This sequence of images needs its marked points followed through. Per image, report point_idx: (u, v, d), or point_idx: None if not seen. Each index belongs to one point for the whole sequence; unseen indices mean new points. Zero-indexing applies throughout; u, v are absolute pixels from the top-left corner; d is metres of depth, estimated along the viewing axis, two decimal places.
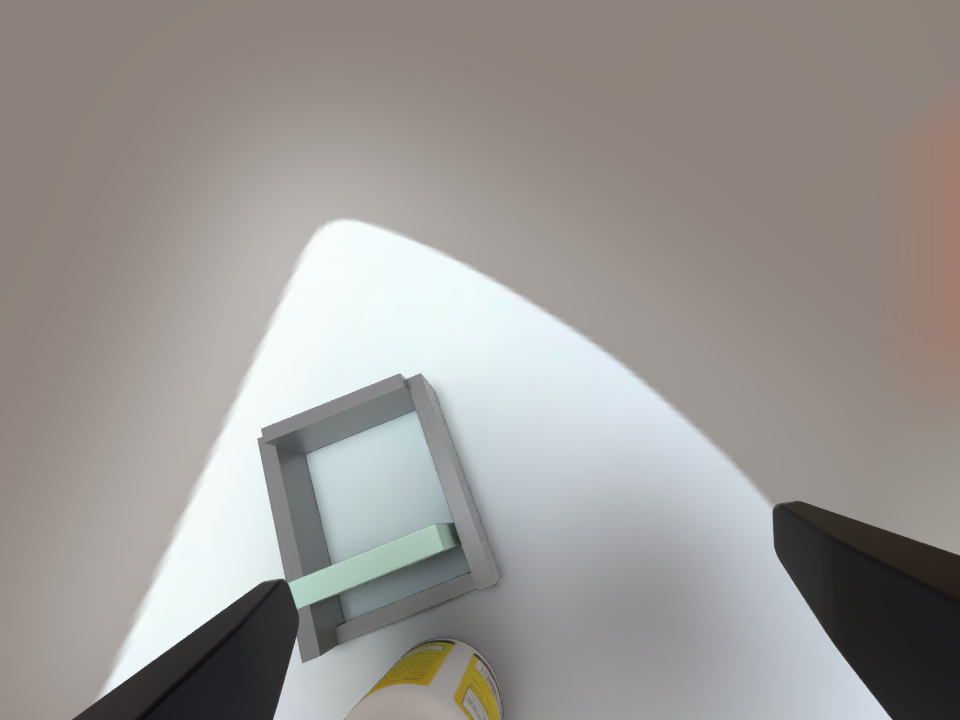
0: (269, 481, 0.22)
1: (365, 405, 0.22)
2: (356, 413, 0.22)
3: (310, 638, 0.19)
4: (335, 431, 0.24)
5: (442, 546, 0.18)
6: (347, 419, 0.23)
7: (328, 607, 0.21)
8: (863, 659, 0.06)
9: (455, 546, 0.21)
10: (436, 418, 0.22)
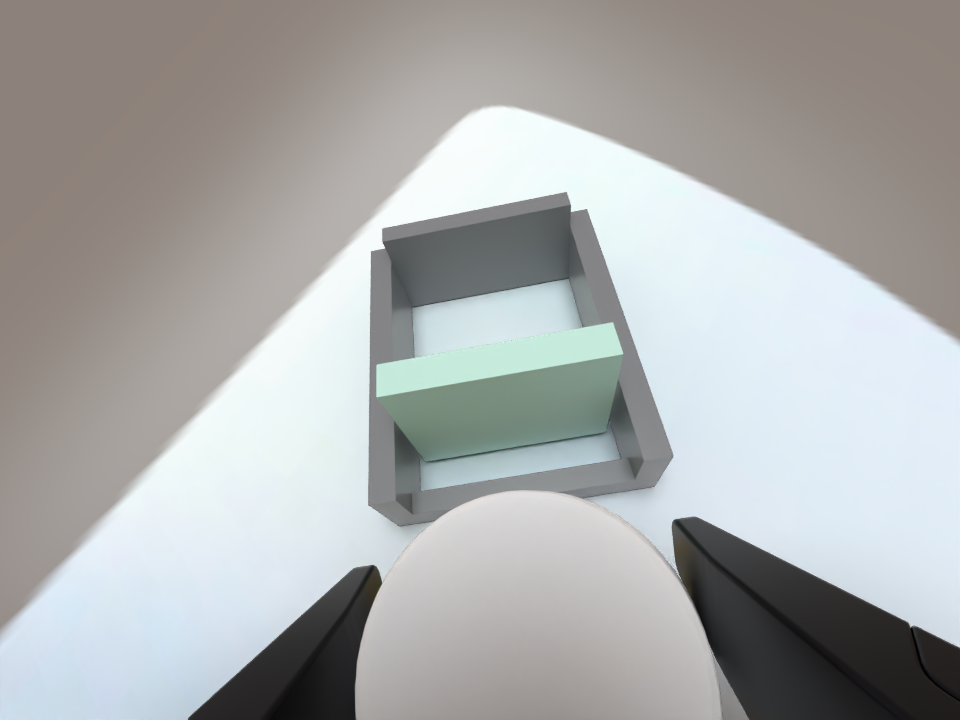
0: (374, 293, 0.17)
1: (513, 224, 0.17)
2: (497, 238, 0.18)
3: (386, 475, 0.14)
4: (460, 271, 0.19)
5: (621, 351, 0.12)
6: (483, 248, 0.18)
7: (409, 464, 0.15)
8: (735, 675, 0.07)
9: (602, 418, 0.15)
10: (601, 255, 0.17)
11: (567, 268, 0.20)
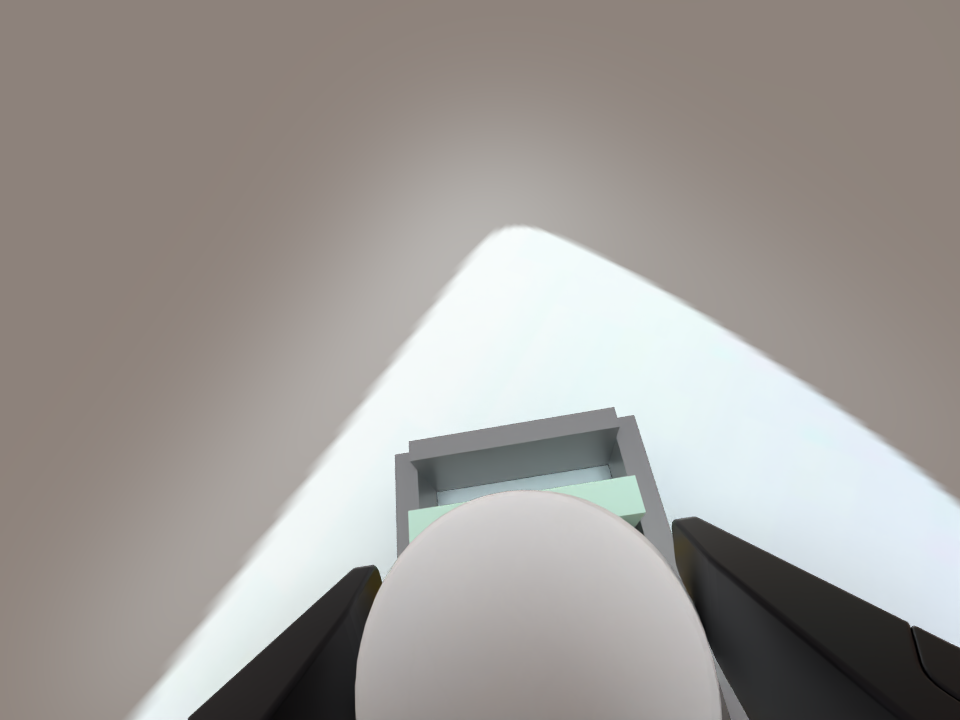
0: (400, 517, 0.16)
1: (555, 441, 0.15)
2: (536, 450, 0.16)
3: None
4: (492, 469, 0.17)
5: (643, 508, 0.12)
6: (519, 456, 0.16)
7: None
8: (735, 675, 0.07)
9: None
10: (654, 483, 0.15)
11: (608, 459, 0.18)
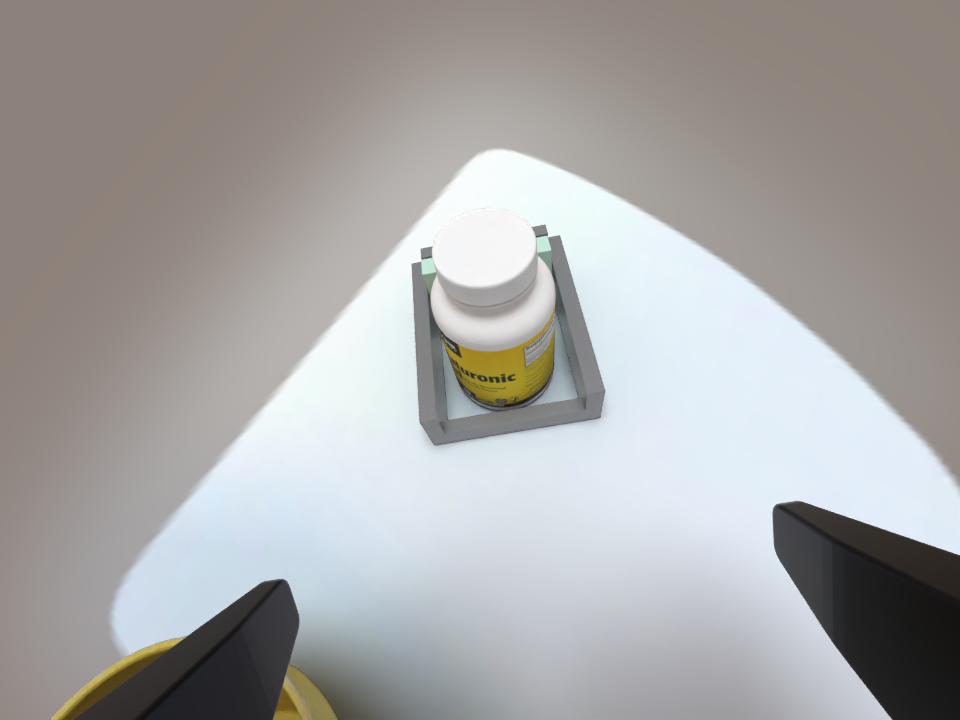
0: (415, 292, 0.26)
1: None
2: None
3: (430, 405, 0.22)
4: None
5: (550, 249, 0.22)
6: None
7: (441, 403, 0.24)
8: (863, 659, 0.06)
9: None
10: (568, 267, 0.25)
11: None
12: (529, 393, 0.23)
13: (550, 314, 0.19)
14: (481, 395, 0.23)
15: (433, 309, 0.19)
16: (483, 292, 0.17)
